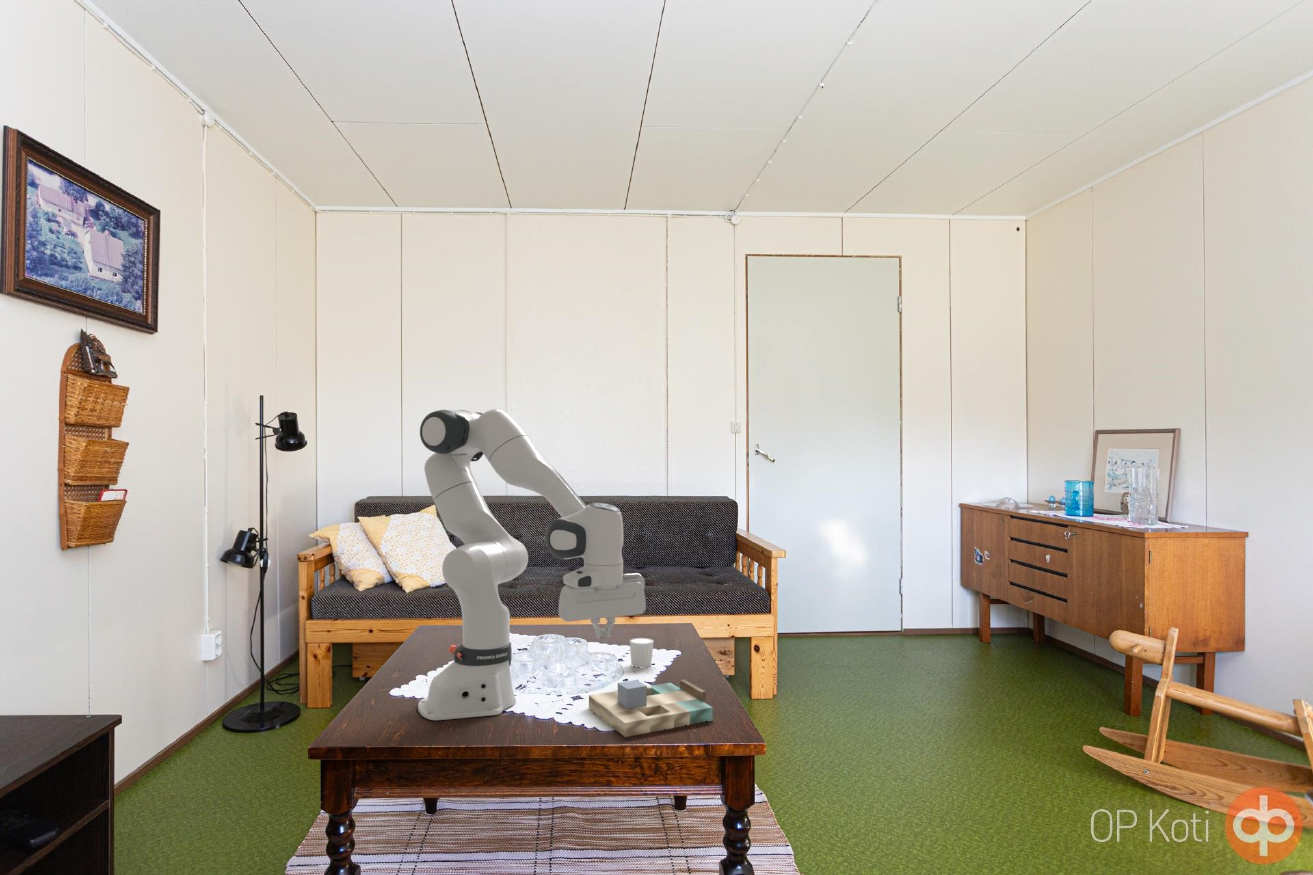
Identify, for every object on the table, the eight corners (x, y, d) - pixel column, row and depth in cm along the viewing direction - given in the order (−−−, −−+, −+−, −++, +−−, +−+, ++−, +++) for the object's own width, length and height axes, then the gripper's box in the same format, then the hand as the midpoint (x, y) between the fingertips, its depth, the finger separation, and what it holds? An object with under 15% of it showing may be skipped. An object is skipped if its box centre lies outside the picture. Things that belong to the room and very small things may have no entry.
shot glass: (650, 669, 211) (650, 644, 211) (626, 667, 212) (627, 642, 212) (655, 662, 217) (655, 638, 217) (632, 661, 219) (632, 636, 219)
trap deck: (624, 736, 161) (625, 713, 161) (588, 707, 179) (588, 686, 179) (716, 719, 172) (717, 697, 172) (674, 693, 190) (674, 673, 190)
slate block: (626, 709, 170) (627, 688, 170) (617, 702, 174) (617, 682, 174) (646, 705, 172) (646, 685, 172) (636, 699, 177) (637, 679, 177)
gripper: (638, 570, 178) (637, 629, 178) (556, 576, 168) (555, 638, 168) (650, 574, 172) (650, 635, 172) (566, 581, 163) (565, 645, 162)
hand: (602, 637), depth 170 cm, fingers closed
